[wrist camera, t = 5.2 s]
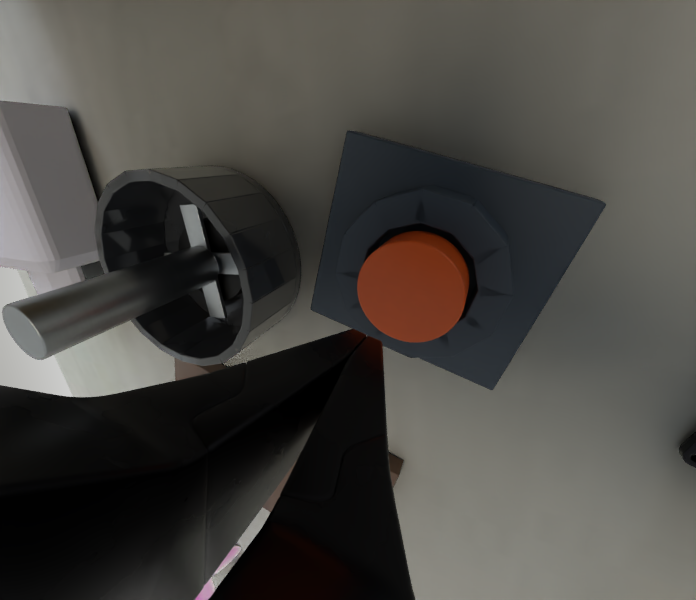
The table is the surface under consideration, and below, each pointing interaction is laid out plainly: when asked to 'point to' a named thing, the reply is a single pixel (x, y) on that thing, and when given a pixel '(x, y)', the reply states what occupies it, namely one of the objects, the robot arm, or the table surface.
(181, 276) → the blade
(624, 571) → the table surface
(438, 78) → the table surface
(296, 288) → the dark fan housing
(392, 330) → the button
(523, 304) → the button block
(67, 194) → the charger
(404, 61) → the table surface
